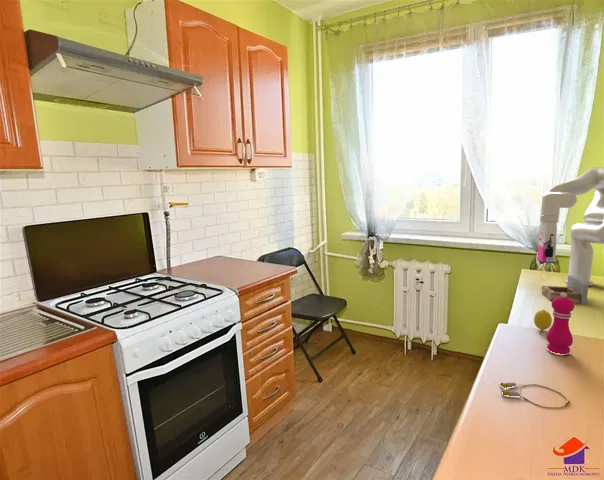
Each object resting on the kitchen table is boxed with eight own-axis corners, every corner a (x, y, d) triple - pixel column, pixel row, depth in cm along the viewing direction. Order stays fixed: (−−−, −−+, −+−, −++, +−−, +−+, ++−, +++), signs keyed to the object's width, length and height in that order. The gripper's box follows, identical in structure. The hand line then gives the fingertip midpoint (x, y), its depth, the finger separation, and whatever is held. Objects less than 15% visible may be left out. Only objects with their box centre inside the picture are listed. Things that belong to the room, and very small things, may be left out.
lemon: (549, 328, 145) (551, 308, 144) (551, 334, 140) (553, 313, 139) (532, 326, 148) (534, 306, 146) (534, 332, 143) (535, 311, 141)
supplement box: (548, 260, 193) (551, 237, 191) (555, 263, 187) (557, 239, 185) (536, 260, 194) (538, 237, 192) (542, 262, 188) (544, 239, 186)
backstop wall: (566, 293, 187) (568, 275, 186) (570, 293, 187) (572, 275, 185) (581, 304, 172) (583, 284, 170) (586, 304, 171) (588, 284, 170)
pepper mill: (567, 348, 129) (573, 290, 126) (574, 358, 122) (581, 296, 119) (542, 345, 131) (547, 288, 128) (548, 355, 125) (553, 294, 121)
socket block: (541, 293, 186) (542, 285, 186) (569, 295, 183) (569, 287, 183) (550, 301, 175) (551, 292, 174) (580, 303, 172) (581, 294, 172)
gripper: (535, 216, 196) (532, 251, 199) (547, 220, 180) (543, 258, 183) (552, 217, 194) (548, 252, 197) (565, 221, 178) (561, 259, 181)
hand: (546, 255), depth 190 cm, fingers closed on supplement box, 6 cm apart
